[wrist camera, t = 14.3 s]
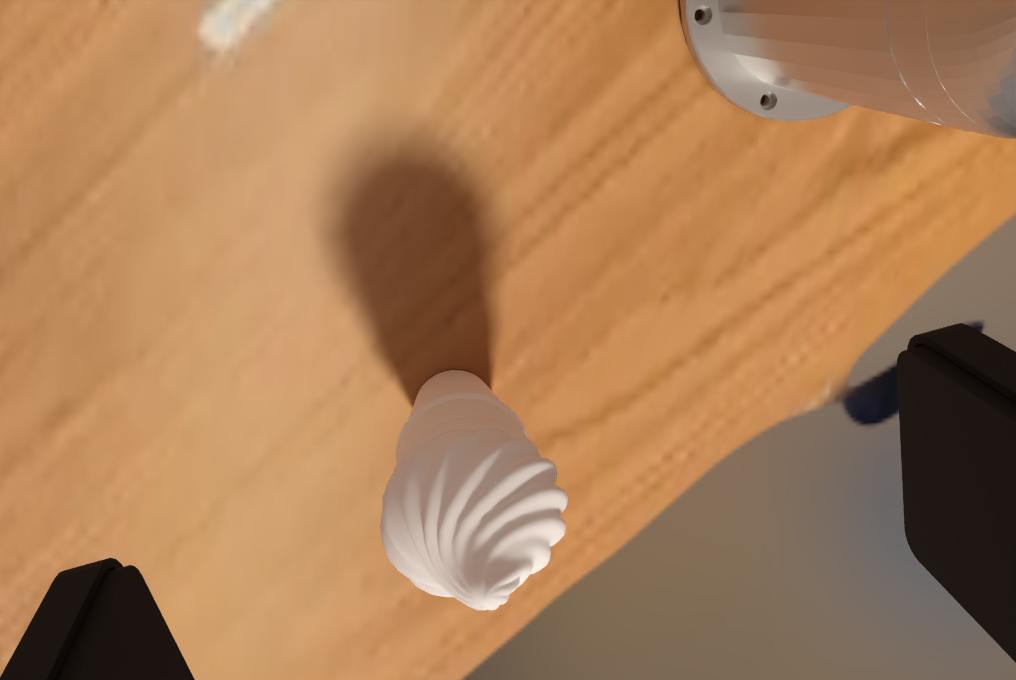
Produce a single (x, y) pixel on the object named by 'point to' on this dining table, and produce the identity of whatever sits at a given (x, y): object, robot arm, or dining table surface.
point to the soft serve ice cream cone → (469, 496)
